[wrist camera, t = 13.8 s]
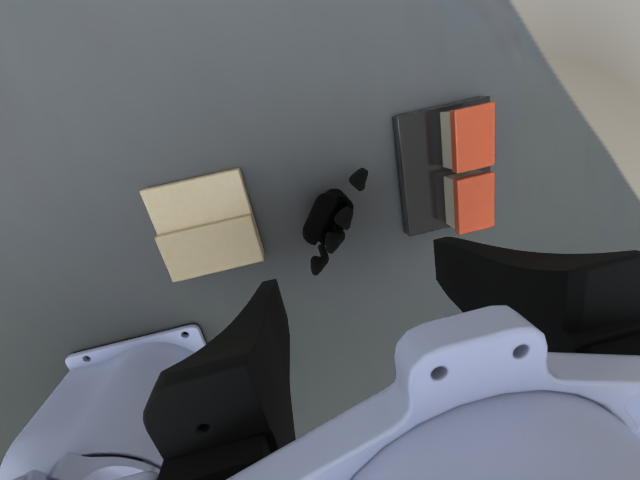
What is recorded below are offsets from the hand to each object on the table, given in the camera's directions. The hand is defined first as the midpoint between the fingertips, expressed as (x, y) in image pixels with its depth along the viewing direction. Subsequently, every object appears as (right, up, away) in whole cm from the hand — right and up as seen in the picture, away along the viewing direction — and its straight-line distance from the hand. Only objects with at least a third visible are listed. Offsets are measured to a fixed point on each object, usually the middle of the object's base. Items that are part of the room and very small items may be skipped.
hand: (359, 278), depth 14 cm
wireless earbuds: (-2, +4, +8) cm, 9 cm away
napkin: (-9, +3, +7) cm, 12 cm away
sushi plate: (+7, +7, +8) cm, 12 cm away
